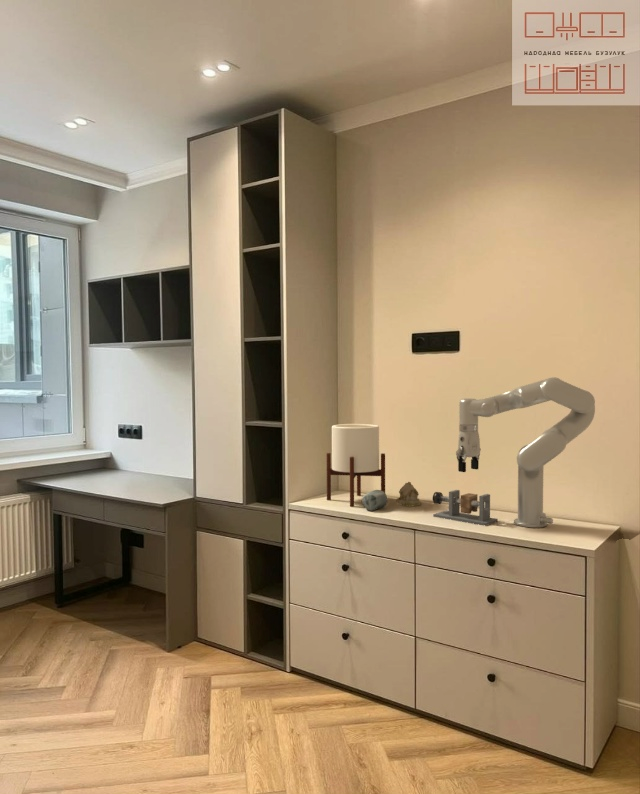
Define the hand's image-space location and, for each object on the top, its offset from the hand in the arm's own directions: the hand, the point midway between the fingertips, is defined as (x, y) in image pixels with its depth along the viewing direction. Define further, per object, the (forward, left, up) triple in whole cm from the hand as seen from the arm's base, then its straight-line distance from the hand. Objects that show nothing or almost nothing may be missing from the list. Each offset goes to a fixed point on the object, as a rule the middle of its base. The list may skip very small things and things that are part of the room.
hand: (468, 470), depth 254 cm
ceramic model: (+37, -11, -21) cm, 44 cm away
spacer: (0, 0, -17) cm, 17 cm away
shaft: (+6, 0, -16) cm, 17 cm away
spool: (+42, +9, -21) cm, 47 cm away
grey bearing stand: (+2, 0, -20) cm, 20 cm away
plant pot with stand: (+60, +1, -20) cm, 63 cm away
